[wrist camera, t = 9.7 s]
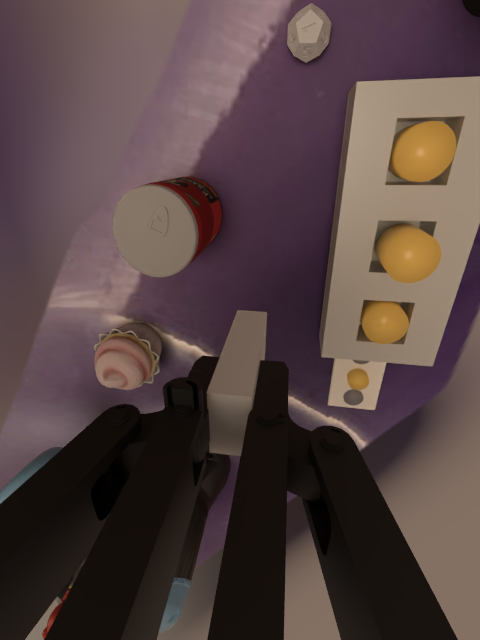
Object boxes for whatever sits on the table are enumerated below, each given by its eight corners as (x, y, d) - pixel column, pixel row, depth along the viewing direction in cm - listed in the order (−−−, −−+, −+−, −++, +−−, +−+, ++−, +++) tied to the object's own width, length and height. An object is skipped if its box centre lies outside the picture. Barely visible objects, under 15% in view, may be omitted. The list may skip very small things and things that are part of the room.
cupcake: (179, 325, 44) (149, 368, 36) (165, 374, 49) (136, 422, 40) (116, 302, 44) (70, 338, 36) (108, 353, 49) (67, 397, 40)
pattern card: (373, 407, 45) (376, 416, 44) (327, 402, 46) (328, 411, 45) (389, 340, 40) (393, 348, 39) (337, 336, 41) (338, 344, 40)
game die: (333, 54, 29) (336, 44, 26) (292, 71, 30) (291, 63, 27) (326, 4, 27) (328, -12, 24) (283, 24, 28) (281, 11, 26)
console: (418, 342, 40) (432, 366, 35) (319, 335, 41) (321, 357, 37) (492, 86, 28) (528, 74, 23) (348, 92, 29) (356, 81, 25)
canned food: (227, 181, 35) (199, 193, 25) (219, 252, 39) (193, 285, 29) (160, 170, 35) (108, 177, 26) (159, 241, 39) (113, 270, 30)
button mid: (418, 269, 31) (433, 284, 28) (371, 267, 32) (380, 281, 28) (430, 223, 29) (448, 233, 26) (379, 222, 30) (390, 231, 26)
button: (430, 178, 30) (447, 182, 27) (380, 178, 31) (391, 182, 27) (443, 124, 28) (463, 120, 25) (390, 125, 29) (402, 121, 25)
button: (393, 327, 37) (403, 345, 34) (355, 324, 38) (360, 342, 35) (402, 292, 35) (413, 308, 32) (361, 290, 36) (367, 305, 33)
